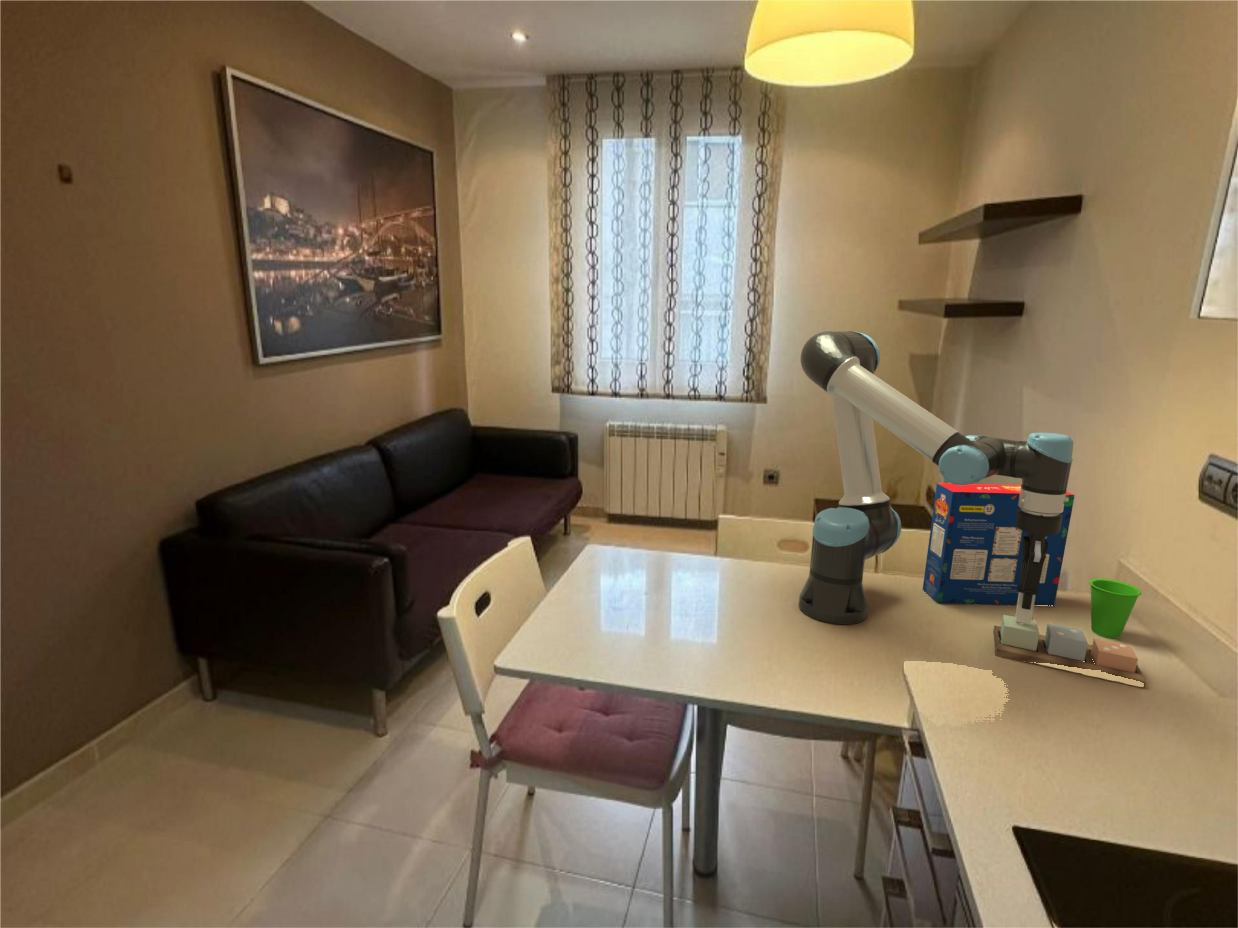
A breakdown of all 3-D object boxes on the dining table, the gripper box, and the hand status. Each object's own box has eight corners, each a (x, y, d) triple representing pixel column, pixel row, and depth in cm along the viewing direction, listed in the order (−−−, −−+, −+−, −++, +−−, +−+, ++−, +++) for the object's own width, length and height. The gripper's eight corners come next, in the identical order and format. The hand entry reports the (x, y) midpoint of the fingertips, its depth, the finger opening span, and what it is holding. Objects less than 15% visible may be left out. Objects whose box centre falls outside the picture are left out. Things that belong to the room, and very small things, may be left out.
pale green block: (1001, 643, 132) (1004, 625, 131) (1000, 631, 137) (1003, 613, 136) (1036, 651, 129) (1039, 632, 128) (1033, 638, 134) (1036, 620, 133)
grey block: (1047, 653, 128) (1051, 634, 127) (1044, 641, 133) (1047, 622, 132) (1084, 661, 125) (1087, 641, 124) (1079, 648, 131) (1082, 629, 130)
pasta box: (1033, 593, 162) (1052, 486, 155) (1054, 606, 154) (1074, 494, 148) (922, 590, 162) (936, 483, 156) (937, 603, 154) (952, 491, 148)
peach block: (1095, 669, 125) (1099, 650, 124) (1090, 656, 130) (1093, 637, 129) (1133, 677, 122) (1138, 658, 121) (1126, 663, 127) (1130, 644, 126)
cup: (1140, 645, 136) (1151, 597, 133) (1092, 640, 137) (1102, 592, 135) (1117, 626, 144) (1127, 580, 142) (1072, 621, 146) (1081, 576, 144)
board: (995, 655, 130) (996, 648, 130) (993, 631, 140) (994, 625, 140) (1143, 688, 119) (1145, 681, 119) (1129, 659, 129) (1130, 652, 129)
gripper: (1067, 522, 119) (1048, 638, 124) (1058, 506, 131) (1040, 613, 136) (1020, 516, 123) (1003, 629, 128) (1015, 501, 134) (1000, 605, 139)
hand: (1022, 621), depth 132 cm, fingers closed
